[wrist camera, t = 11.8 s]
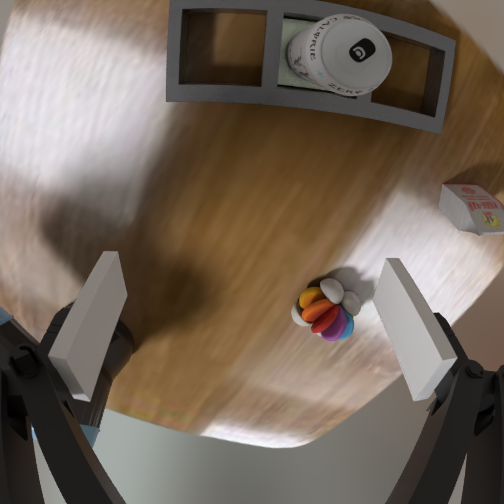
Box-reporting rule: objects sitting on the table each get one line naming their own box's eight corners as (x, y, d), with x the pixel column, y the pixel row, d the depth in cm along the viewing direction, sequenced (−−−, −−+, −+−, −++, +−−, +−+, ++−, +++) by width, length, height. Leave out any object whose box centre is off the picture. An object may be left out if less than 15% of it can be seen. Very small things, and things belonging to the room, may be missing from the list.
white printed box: (473, 207, 39) (511, 245, 30) (438, 208, 39) (474, 248, 31) (478, 184, 36) (520, 219, 28) (442, 183, 37) (482, 220, 28)
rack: (173, 97, 32) (165, 101, 29) (178, -1, 25) (170, -6, 22) (426, 127, 33) (440, 134, 30) (440, 40, 26) (455, 40, 23)
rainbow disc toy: (322, 265, 44) (332, 301, 38) (365, 296, 48) (377, 331, 42) (282, 302, 48) (285, 338, 42) (326, 327, 51) (333, 362, 45)
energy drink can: (273, 52, 29) (289, 45, 16) (315, 19, 26) (360, -6, 14) (311, 92, 31) (351, 117, 19) (352, 60, 29) (416, 67, 16)
